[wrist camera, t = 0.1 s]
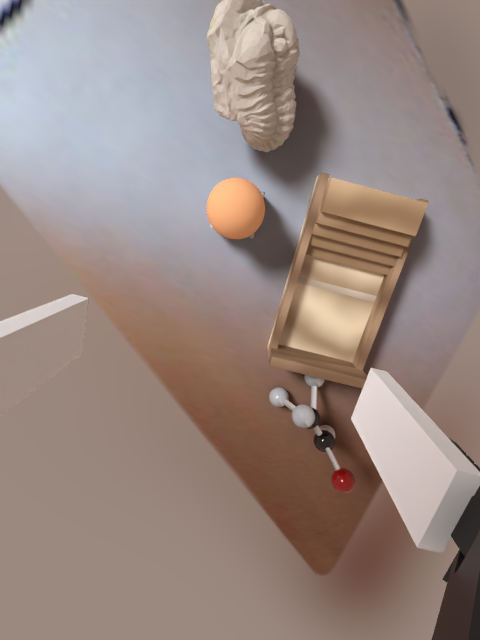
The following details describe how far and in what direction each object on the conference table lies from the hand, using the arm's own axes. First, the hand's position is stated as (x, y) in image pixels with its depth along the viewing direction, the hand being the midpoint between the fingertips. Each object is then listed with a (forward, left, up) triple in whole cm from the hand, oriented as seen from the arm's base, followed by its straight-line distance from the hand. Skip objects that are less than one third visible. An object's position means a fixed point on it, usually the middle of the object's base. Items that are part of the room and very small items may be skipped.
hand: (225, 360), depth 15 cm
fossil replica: (-19, -3, -28) cm, 34 cm away
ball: (-7, -2, -22) cm, 23 cm away
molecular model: (+16, +14, -28) cm, 36 cm away
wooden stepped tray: (-2, +12, -28) cm, 31 cm away
